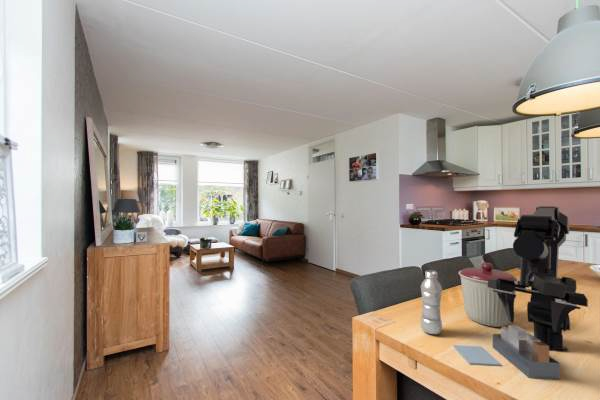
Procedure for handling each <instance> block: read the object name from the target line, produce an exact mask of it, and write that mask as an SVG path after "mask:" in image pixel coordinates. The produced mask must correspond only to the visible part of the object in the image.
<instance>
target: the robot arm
mask: <svg viewBox="0 0 600 400" xmlns="http://www.w3.org/2000/svg"><path fill="white" fill-rule="evenodd" d="M567 235H570V221H569V217H568V216H567V215H566V214H564V213H562V212H561V211H560V209H559V207H558V206H552V205H551V206H543V205H540V206H536V208H535V211H534V212H533V213H532V214H522V215H521V216H520V218H517V221H516V225H515V229H514V233H513V236H514V238H515V240H514V241H513V243H512V249H513V251H514V252H515V254H516V255H518V256H519V257H520V264H518V267H517V269H518V270H520V273H519V274H520V276H519V281H518V282H517V284H515V283H514V281H509V280H504V279H498V278H492V277H491V278H490V279H489V280H488V287H489V288H493V289H496V290H493V292H496V293H497V294H498V296H499V298H500V300H501V302H502V304H503V306H504V309H505V311H506V314H507V316H508V319H509V321H510V323H512V324H513V323H514V319H515V300H514V299H516V298H517V294H516V293H515V294H513V291H516V292H519V293H525V294H529V295H530V294H531V295H530V301H528V302H527V304H526V305H527V306H526V312H527V320H528V321H527V323H528V322H529V323H532V324H533V336H534V337H535V338H537V339H539V340H540V341H541V342H544V343H545V344H547V345H549V351H569V348H568V347H566V346H564V338H563V336H564V335H563V331H564V332H566V331H570V330H571V322H570V321H571V320H570V313H571V312H572V311H574V310H581V308H582V307H586V308H588V307H589V299H588V297H587V296H586V294H584V293H580V292H576V291H577V280H576V279H574V278H571V277H567V276H562V277H561V278H559V277H558V272H559V271H558V270H559V248H560V247H561V246H562V245H563V244H564V243H565V242H566V240H567ZM528 288H530V289H528ZM580 306H582V307H580Z"/></svg>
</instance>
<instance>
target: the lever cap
mask: <svg viewBox="0 0 600 400" xmlns="http://www.w3.org/2000/svg"><path fill="white" fill-rule="evenodd" d="M508 326H509V328H502V327H500V334H501V338H502V339H503V340H504V341H506V342H507V343H508V344H510V345H511V346H512V347H514V348H515V349H516V350H517V351H520V352H532V341H539V342H541V341H540V340H539V339H537V338H535V337H534V335H533V334H531V333H529V332H527V330H526V329H524V328H523V327H521V326H519V325H517V324H508Z"/></svg>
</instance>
